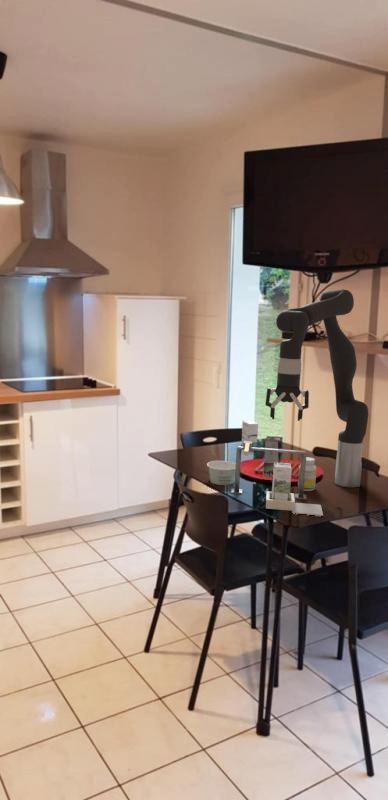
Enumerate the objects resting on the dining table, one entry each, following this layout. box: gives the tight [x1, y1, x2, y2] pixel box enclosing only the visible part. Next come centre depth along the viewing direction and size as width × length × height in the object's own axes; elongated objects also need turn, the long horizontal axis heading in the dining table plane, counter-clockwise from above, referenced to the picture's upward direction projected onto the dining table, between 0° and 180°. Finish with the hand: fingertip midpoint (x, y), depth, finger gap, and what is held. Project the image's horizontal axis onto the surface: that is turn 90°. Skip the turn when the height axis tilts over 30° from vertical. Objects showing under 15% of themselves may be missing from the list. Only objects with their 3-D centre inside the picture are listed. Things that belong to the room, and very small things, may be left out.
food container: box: [206, 460, 236, 486], centre depth 235 cm, size 12×12×6 cm
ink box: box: [241, 419, 259, 448], centre depth 291 cm, size 9×5×12 cm, turn 17°
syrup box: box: [271, 462, 293, 501], centre depth 210 cm, size 6×6×14 cm
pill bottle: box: [297, 456, 317, 492], centre depth 229 cm, size 6×6×12 cm
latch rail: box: [230, 445, 308, 501], centre depth 220 cm, size 27×4×17 cm, turn 83°
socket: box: [265, 490, 296, 512], centre depth 211 cm, size 10×10×3 cm
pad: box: [291, 502, 324, 517], centre depth 207 cm, size 10×10×1 cm
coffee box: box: [262, 435, 283, 478], centre depth 240 cm, size 9×6×16 cm
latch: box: [242, 441, 252, 456], centre depth 213 cm, size 3×15×2 cm, turn 173°
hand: (285, 419), depth 206 cm, fingers open, 8 cm apart
